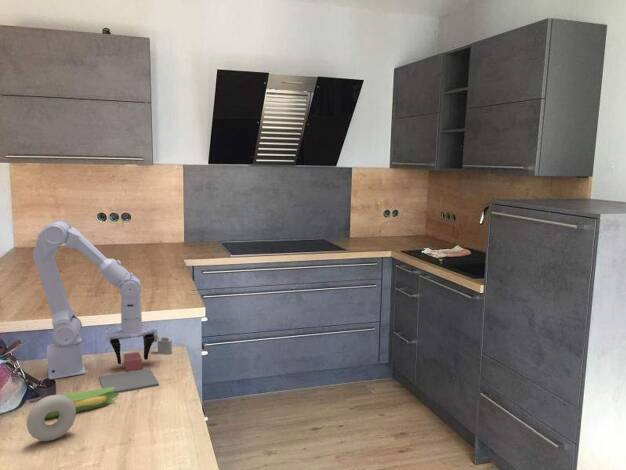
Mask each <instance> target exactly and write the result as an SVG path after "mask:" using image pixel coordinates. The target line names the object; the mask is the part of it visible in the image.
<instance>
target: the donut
mask: <svg viewBox="0 0 626 470" xmlns="http://www.w3.org/2000/svg"><path fill="white" fill-rule="evenodd" d="M47 396H48V397H47ZM47 396H45V397H46V398H44V397H42V398H43V399H42V398H41V399H42V400H40V399H39V400H40V401H39V400H38V401H39V402H38V401H37V402H38V403H37V402H36V403H35V404H34V405H33V407H31V409H30V411H29V413H28V415H27V417H26V427H27V430H28V433H29V434H30V435H31V437H32V438H34V439H35V440H37V441H40V442H41V441H42V442H49V441H55V440H56V439H59V438H61V437H63V436H64V435H65V434H66V433H68V431H70V429H71V428H72V426H73V424H74V422H75V420H76V415H77V412H76V409H75V405H74V403H73V402H72V401H71V399H69V398H67V397H66V396H62V395H60V394H52V395H51V394H50V395H47ZM51 411H58V412H59V414H60V415H59V416H58V418H57V420H56V421H55V422H53V423H52V424H46V423H45V420H46V419H45V416H46V415H47V414H48V413H49V412H51Z"/></svg>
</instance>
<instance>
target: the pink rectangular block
mask: <svg viewBox="0 0 626 470" xmlns="http://www.w3.org/2000/svg"><path fill="white" fill-rule="evenodd" d="M122 358H123V366H125V367H124V369H125V372H130V371H136V370H142V369H143V362H142V361H143V360H142V356H141V354H140V352H139V351H135V352H134V351H133V352H128V353H127V352H126V353H123V357H122Z"/></svg>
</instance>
